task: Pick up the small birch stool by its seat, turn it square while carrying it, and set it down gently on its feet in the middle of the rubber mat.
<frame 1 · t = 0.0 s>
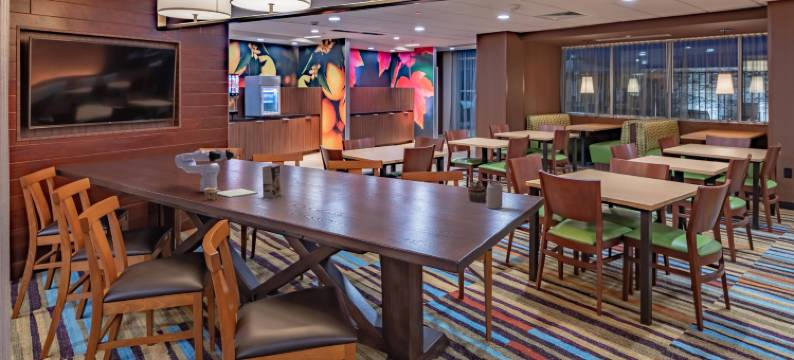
hand: (226, 155, 295), 22 cm above the table, tool horizontal, fingers open, 7 cm apart
coffee box: (272, 196, 299), on the table
stool: (211, 199, 289), on the table
can: (494, 208, 269), on the table
cupcake: (477, 201, 287), on the table
mat: (235, 193, 306), on the table
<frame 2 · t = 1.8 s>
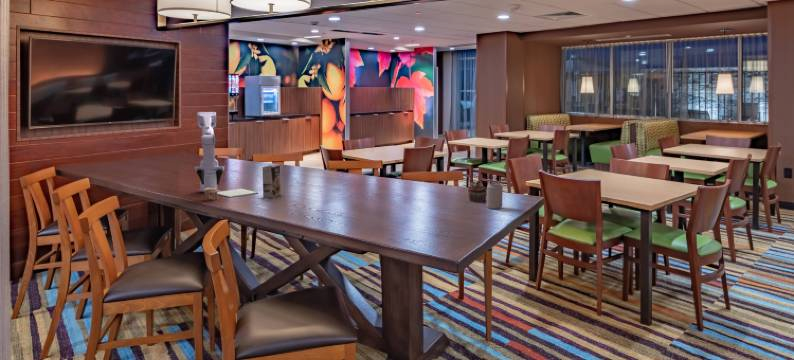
hand: (210, 184, 288), 8 cm above the table, tool pointing down, fingers open, 7 cm apart
nothing on the table moved.
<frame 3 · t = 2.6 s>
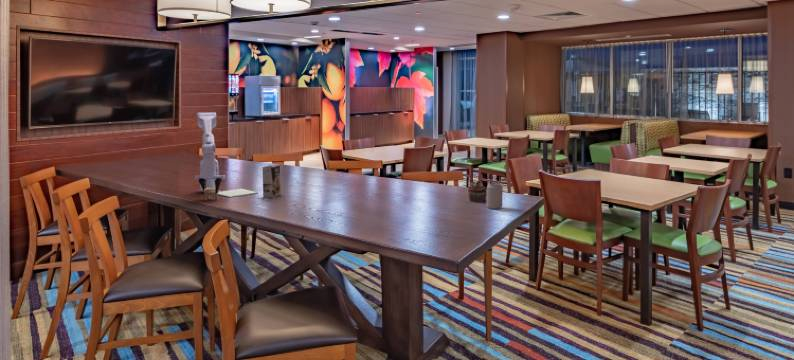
hand: (210, 193, 289), 3 cm above the table, tool pointing down, fingers closed on stool, 5 cm apart
stool: (211, 199, 289), on the table, touching gripper
everything else where it was.
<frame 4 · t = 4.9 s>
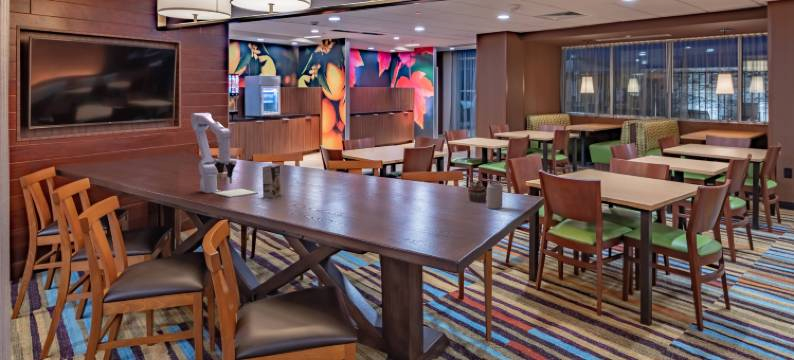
hand: (225, 176, 298), 10 cm above the table, tool pointing down, fingers closed on stool, 5 cm apart
stool: (225, 183, 298), point 7 cm above the table, touching gripper
everything else where it was.
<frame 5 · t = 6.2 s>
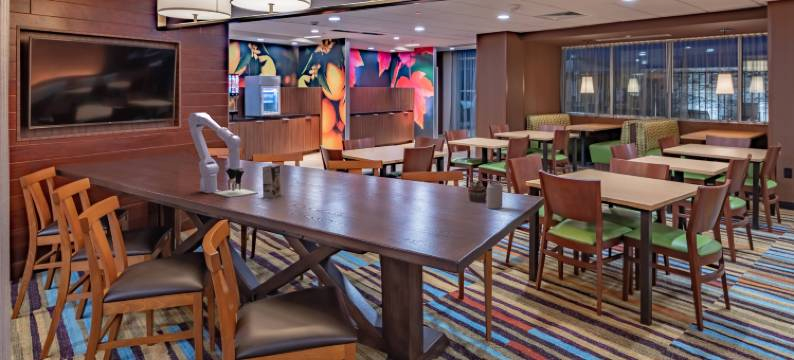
hand: (235, 183, 305), 6 cm above the table, tool pointing down, fingers closed on stool, 5 cm apart
stool: (234, 189, 305), point 2 cm above the table, touching gripper
everything else where it was.
when the fingers open (5 cm above the table, at t = 7.4 s): stool stays where it is, resting on mat.
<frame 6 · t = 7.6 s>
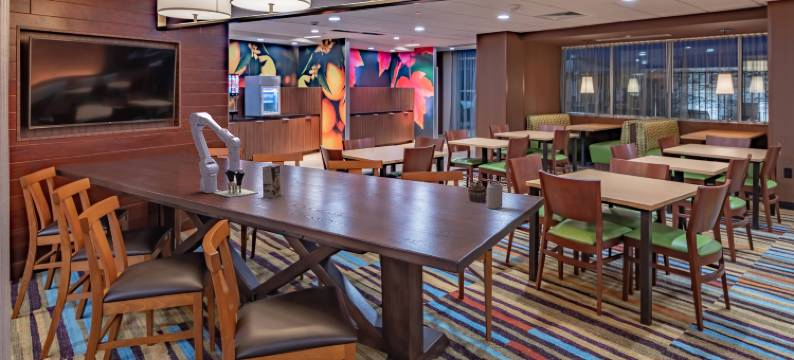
hand: (235, 184, 305), 5 cm above the table, tool pointing down, fingers open, 7 cm apart
stool: (234, 192, 305), point 1 cm above the table, touching mat
everything else where it was.
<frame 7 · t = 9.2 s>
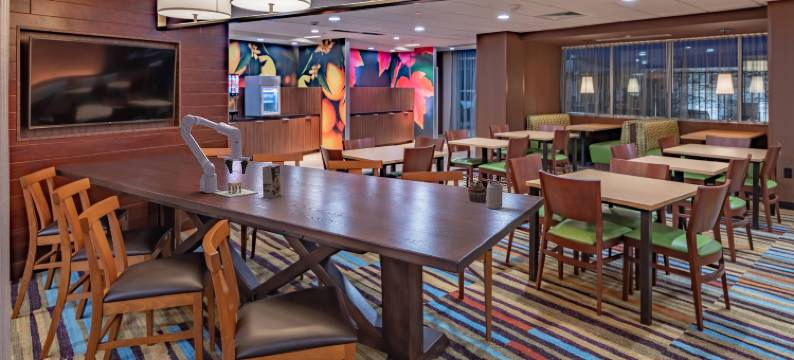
hand: (237, 173, 315), 9 cm above the table, tool pointing down, fingers open, 7 cm apart
nothing on the table moved.
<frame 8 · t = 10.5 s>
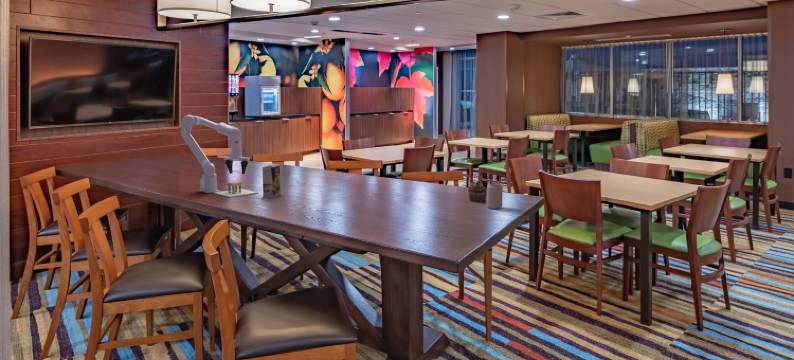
hand: (237, 173, 315), 9 cm above the table, tool pointing down, fingers open, 7 cm apart
nothing on the table moved.
at the end: stool inside the target area on the mat (0.5 cm from its centre), point 0.6 cm above the mat's base; stool tilted 0°; the gripper is holding nothing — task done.
